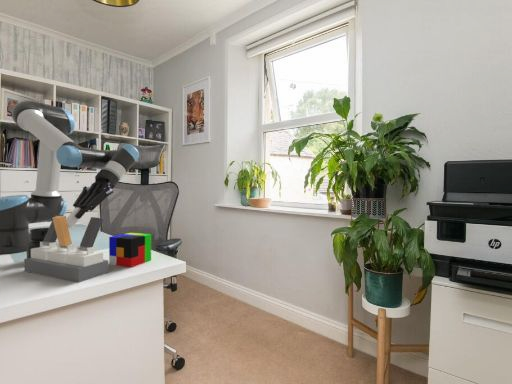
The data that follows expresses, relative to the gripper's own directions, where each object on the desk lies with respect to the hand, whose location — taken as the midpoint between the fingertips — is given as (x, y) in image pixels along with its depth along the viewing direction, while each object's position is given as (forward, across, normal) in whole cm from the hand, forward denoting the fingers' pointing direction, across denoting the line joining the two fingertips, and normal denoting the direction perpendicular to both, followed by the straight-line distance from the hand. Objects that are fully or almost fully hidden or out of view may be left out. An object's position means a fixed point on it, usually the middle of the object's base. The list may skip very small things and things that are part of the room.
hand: (67, 225), depth 92 cm
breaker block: (+11, 0, -10) cm, 15 cm away
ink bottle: (+8, +20, -14) cm, 26 cm away
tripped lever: (+5, 0, -4) cm, 7 cm away
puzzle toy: (0, -10, -23) cm, 25 cm away
